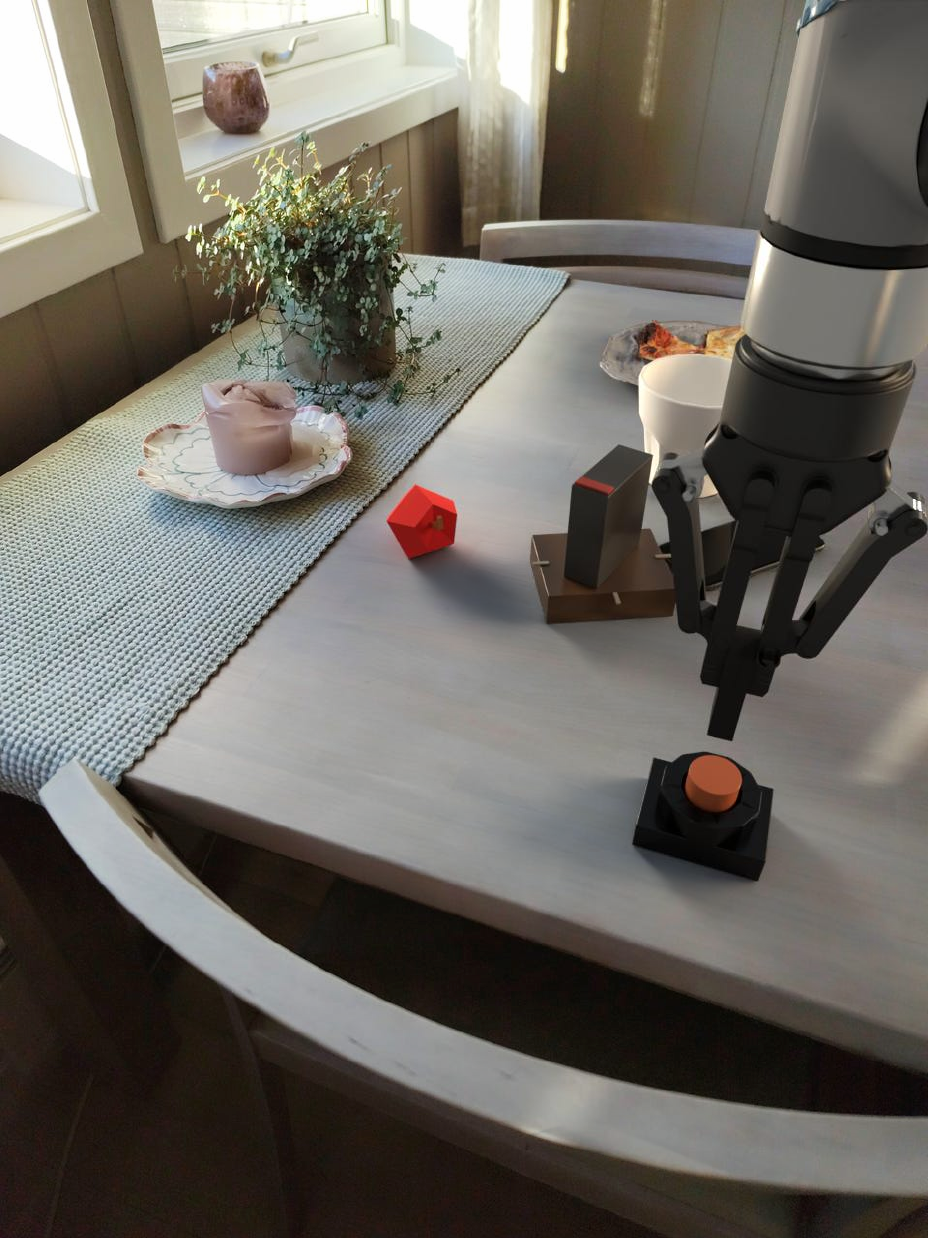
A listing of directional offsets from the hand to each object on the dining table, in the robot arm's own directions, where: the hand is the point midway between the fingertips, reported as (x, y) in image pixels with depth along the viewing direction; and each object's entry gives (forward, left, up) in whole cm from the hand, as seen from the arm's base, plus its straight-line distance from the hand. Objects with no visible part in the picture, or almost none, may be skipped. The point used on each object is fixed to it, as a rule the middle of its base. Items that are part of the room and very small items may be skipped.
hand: (722, 722), depth 52 cm
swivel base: (+21, -14, -9) cm, 27 cm away
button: (-1, 0, -6) cm, 6 cm away
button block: (-1, 0, -9) cm, 9 cm away
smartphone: (+16, -28, -9) cm, 33 cm away
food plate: (+44, -57, -9) cm, 72 cm away
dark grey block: (+21, -13, -6) cm, 26 cm away
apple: (+36, -6, -9) cm, 38 cm away
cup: (+28, -35, -9) cm, 46 cm away
